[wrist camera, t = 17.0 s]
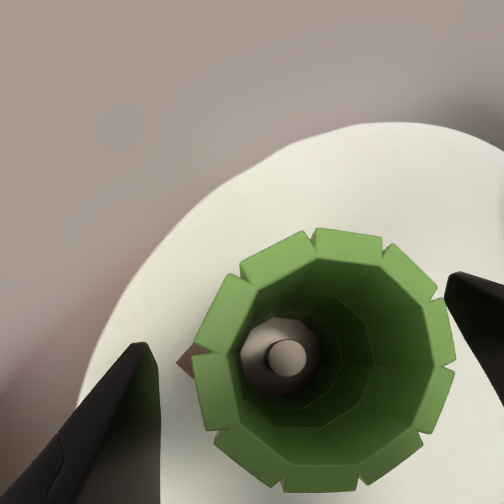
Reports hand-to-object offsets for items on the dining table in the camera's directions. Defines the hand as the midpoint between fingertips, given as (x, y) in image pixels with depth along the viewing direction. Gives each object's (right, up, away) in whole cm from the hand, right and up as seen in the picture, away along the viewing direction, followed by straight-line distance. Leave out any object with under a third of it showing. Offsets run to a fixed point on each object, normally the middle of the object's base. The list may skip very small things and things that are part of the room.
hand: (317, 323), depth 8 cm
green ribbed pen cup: (0, -4, +10) cm, 11 cm away
